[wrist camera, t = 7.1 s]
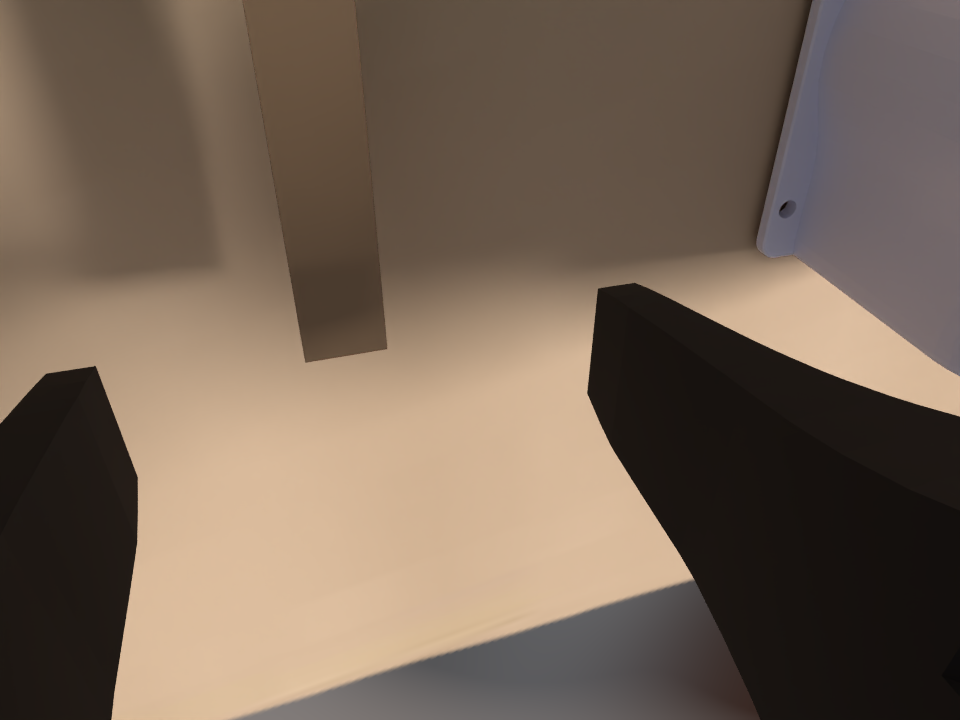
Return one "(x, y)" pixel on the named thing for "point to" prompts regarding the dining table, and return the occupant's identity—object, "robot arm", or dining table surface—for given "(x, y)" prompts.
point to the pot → (320, 169)
